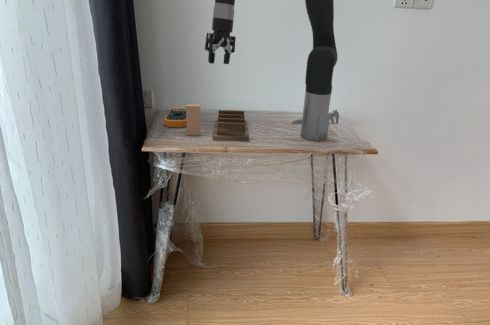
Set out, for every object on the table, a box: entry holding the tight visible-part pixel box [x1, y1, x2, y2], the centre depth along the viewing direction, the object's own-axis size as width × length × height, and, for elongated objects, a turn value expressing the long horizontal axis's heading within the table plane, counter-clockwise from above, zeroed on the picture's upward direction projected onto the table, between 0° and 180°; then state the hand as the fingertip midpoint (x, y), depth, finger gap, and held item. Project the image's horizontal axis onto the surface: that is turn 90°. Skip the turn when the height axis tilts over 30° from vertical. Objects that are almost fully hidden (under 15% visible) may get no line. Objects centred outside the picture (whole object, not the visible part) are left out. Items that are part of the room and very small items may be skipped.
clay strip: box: [185, 103, 202, 136], centre depth 132 cm, size 2×5×11 cm, turn 92°
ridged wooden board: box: [212, 109, 250, 142], centre depth 137 cm, size 19×13×6 cm
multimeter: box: [164, 106, 187, 129], centre depth 147 cm, size 9×18×3 cm, turn 1°
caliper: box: [290, 109, 340, 124], centre depth 152 cm, size 20×1×6 cm, turn 98°
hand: (218, 63), depth 137 cm, fingers open, 8 cm apart
